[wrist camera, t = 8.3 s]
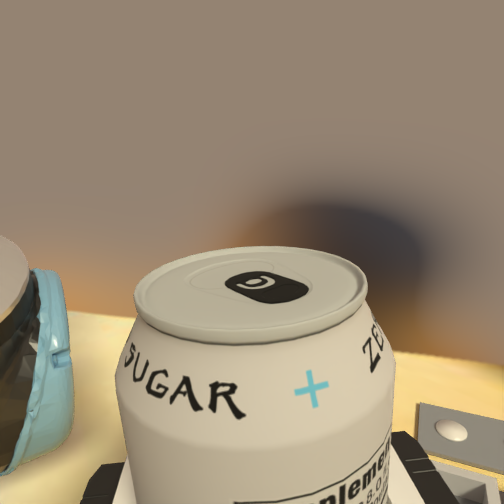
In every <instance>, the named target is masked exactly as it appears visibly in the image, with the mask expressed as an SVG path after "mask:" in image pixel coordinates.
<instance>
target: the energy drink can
mask: <svg viewBox="0 0 504 504" xmlns="http://www.w3.org/2000/svg"><path fill="white" fill-rule="evenodd" d="M367 288H368V287H367V280H366V276H365V274H364V273H363V272H362V271H361V269H360V268H359V267H358V266H356V265H354V264H353V263H351V262H350V261H348V260H345V259H343V258H341V257H339V256H336V255H332V254H329V253H325V252H321V251H316V250H311V249H303V248H296V247H281V246H280V247H279V246H255V247H238V248H228V249H222V250H215V251H209V252H204V253H200V254H195V255H192V256H188V257H184V258H181V259H178V260H175V261H173V262H170V263H168V264H165V265H163V266H161V267H159V268H157V269H155V270H153V271H152V272H150V273H149V274H147V275H146V276H145V277H143V278H142V280H141V281H140V282H139V283H138V285H137V286H136V288H135V292H134V295H133V296H134V302H135V306H136V310H137V313H138V315H137V318H136V320H135V323H134V325H133V327H132V330H131V332H130V334H129V337H128V339H127V341H126V344H125V346H124V348H123V351H122V353H121V356H120V359H119V362H118V366H117V370H116V373H115V384H116V394H117V400H118V405H119V410H120V416H121V421H122V427H123V432H124V438H125V443H126V448H127V454H128V459H129V465H130V470H131V475H132V481H133V486H134V492H135V497H136V503H137V504H387V495H388V479H389V463H390V447H391V431H392V415H393V399H394V383H395V367H396V362H395V359H394V355H393V352H392V349H391V346H390V344H389V342H388V340H387V338H386V336H385V335H384V333H383V331H382V330H381V328H380V326H379V324H378V323H377V321H376V319H375V317H374V316H373V314H372V312H371V310H370V308H369V307H368V305H367V303H366V301H365V297H366V294H367Z"/></svg>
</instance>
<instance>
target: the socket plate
mask: <svg viewBox="0 0 504 504" xmlns="http://www.w3.org/2000/svg"><path fill="white" fill-rule="evenodd" d="M431 461H432V463H433V464H434V466H435V467H436V470H437V472H439V473H440V475H441V476H442V478H443V479H444V481H445V482H446V484H447V485H448V487H449V488H450V490H451V491H452V493H453V494H454V496H455V497H456V499H457V500H458V502H459V503H460V504H504V492H502V491H499V490H498V484H497V479H496V478H493V477H490V476H486V475H483V474H479V473H476V472H472V471H468V470H465V469H461V468H458V467H454V466H450V465H447V464H443V463H440V462H436V461H433V460H431Z"/></svg>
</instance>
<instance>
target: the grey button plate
mask: <svg viewBox="0 0 504 504" xmlns="http://www.w3.org/2000/svg"><path fill="white" fill-rule="evenodd" d="M418 442H419V443H420V445H421V446H422V448H423V449H424V451H425V452H426V454H430V455H433V456H437V457H441V458H444V459H448V460H452V461H455V462H459V463H463V464H466V465H470V466H474V467H477V468H481V469H485V470H488V471H492V472H496V473H499V474H503V475H504V421H502V420H497V419H493V418H488V417H484V416H479V415H475V414H470V413H466V412H461V411H457V410H452V409H448V408H443V407H439V406H434V405H430V404H425V403H421V402H420V409H419V427H418Z"/></svg>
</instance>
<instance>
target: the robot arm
mask: <svg viewBox="0 0 504 504" xmlns="http://www.w3.org/2000/svg"><path fill="white" fill-rule="evenodd" d="M69 354H70V343H69V326H68V318H67V311H66V304H65V298H64V292H63V287H62V283H61V280H60V277H59V275H58V274H57V273H56V272H55V271H52V270H41V269H37V268H35V269H32V270H30V269H29V266H28V263H27V260H26V258H25V256H24V254H23V252H22V251H21V249H20V248H19V247H18V246H17V245H16V244H15V243H13V242H12V241H11V240H9V239H7V238H5V237H3V236H1V235H0V476H3V475H7V474H9V473H11V472H12V471H13V470H15V469H16V467H17V466H20V465H22V464H24V463H26V462H29V461H31V460H33V459H36V458H38V457H40V456H43V455H45V454H47V453H50V452H52V451H54V450H55V449H57V448H58V447H59V446H60V445H61V444H62V443H63V442H64V441H65V440H66V439H67V437H68V436H69V434H70V432H71V429H72V426H73V421H74V382H73V370H72V362H71V358H70V356H69ZM80 504H137V503H136V497H135V492H134V486H133V481H132V475H131V470H130V465H129V459H128V454H127V457H126V461H125V462H122V463H112V464H103V465H101V466H100V467H99V469H98V470H97V471H96V472H95V474H94V475H93V476H92V477H91V478H90V480H89V482H88V484H87V487H86V489H85V492H84V494H83V499H82V500H81V502H80ZM387 504H460V503H459V502H458V500H457V499H456V497H455V496H454V494H453V493H452V491H451V490H450V488H449V487H448V485H447V484H446V482H445V481H444V479H443V478H442V476H441V475H440V473H439V472H437V470H436V467H435V466H434V464H433V463H432V461H431V460H429V458H428V455H427V454H426V452H425V451H424V449H423V448H422V446H421V445H420V443H419V442H418V441H416V440H415V439H414V438H413V437H411V436H410V435H409V434H408V433H406V432H405V431H400V432H391V447H390V463H389V479H388V495H387Z"/></svg>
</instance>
